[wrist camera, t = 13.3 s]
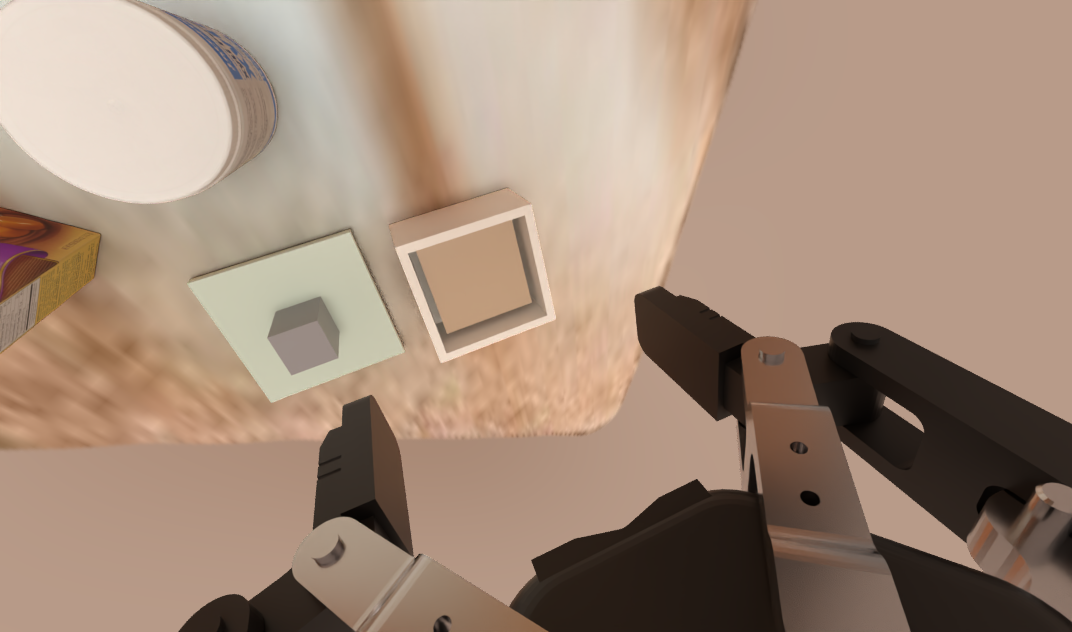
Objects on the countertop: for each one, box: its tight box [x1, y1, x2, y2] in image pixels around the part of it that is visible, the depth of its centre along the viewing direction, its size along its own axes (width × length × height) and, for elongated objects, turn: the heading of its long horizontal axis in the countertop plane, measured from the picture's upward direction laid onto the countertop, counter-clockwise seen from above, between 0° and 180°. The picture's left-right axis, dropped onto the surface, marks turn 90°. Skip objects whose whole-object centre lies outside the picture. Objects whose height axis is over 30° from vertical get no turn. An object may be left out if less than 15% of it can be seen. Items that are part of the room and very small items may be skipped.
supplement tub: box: [0, 0, 277, 204], centre depth 27 cm, size 10×10×15 cm
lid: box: [187, 229, 405, 403], centre depth 40 cm, size 14×14×7 cm
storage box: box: [389, 188, 556, 363], centre depth 43 cm, size 12×12×7 cm
